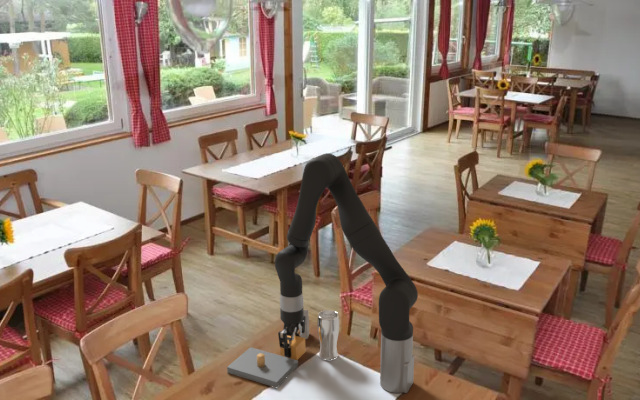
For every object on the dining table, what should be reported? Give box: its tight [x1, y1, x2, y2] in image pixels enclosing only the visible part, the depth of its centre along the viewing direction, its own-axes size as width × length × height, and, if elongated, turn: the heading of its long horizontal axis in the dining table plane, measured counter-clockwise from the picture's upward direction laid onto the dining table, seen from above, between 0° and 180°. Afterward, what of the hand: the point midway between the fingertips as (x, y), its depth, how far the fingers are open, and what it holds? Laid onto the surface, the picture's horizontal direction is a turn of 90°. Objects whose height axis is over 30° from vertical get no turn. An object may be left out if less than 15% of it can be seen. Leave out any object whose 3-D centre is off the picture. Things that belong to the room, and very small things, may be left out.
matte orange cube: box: [279, 335, 307, 361], centre depth 193 cm, size 6×6×5 cm
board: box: [226, 347, 299, 388], centre depth 185 cm, size 18×13×6 cm
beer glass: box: [316, 309, 340, 360], centre depth 190 cm, size 7×7×15 cm
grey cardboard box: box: [301, 309, 310, 340], centre depth 204 cm, size 4×7×10 cm, turn 83°
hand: (293, 351), depth 194 cm, fingers closed on matte orange cube, 6 cm apart
